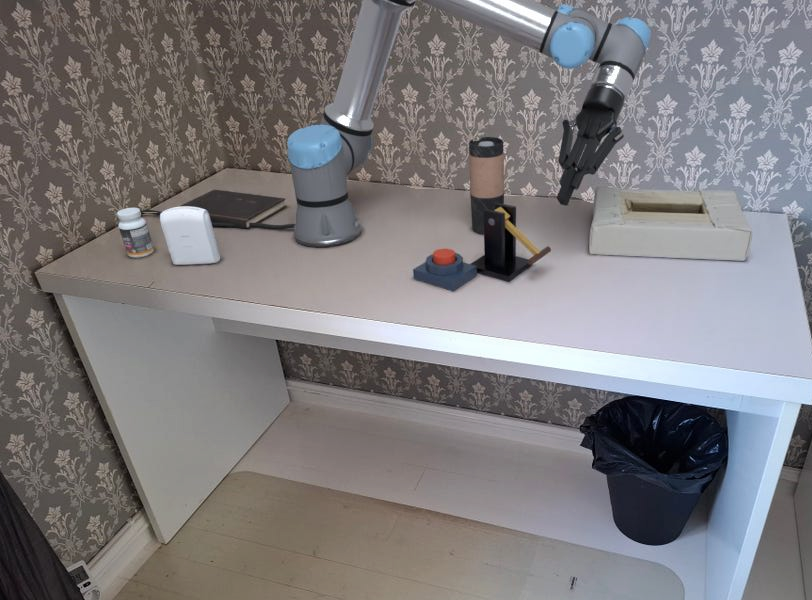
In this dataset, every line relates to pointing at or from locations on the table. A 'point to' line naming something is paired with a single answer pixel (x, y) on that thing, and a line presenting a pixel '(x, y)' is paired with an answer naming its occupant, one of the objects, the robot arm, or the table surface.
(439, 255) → the red button
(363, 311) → the table surface
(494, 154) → the travel mug
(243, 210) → the hardcover book
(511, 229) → the tap lever
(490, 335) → the table surface
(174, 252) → the photo printer
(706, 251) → the box
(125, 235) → the pill bottle
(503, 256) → the tap bracket
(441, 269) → the button box
